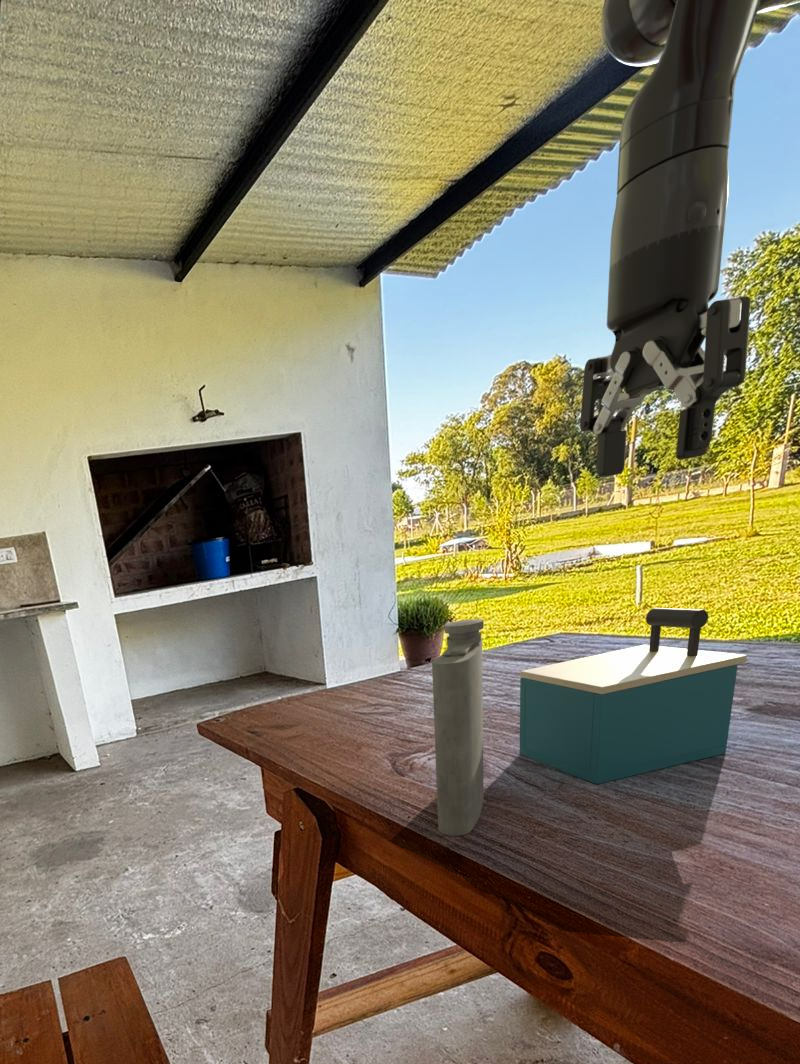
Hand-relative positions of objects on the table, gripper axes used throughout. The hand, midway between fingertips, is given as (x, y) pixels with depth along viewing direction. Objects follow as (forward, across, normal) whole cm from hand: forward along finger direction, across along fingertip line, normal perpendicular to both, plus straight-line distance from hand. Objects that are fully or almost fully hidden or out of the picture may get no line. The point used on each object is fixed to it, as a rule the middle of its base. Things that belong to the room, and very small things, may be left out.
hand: (647, 467), depth 55 cm
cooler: (+31, +8, -6) cm, 32 cm away
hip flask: (+31, +4, +16) cm, 35 cm away
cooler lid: (+21, +8, -6) cm, 23 cm away
